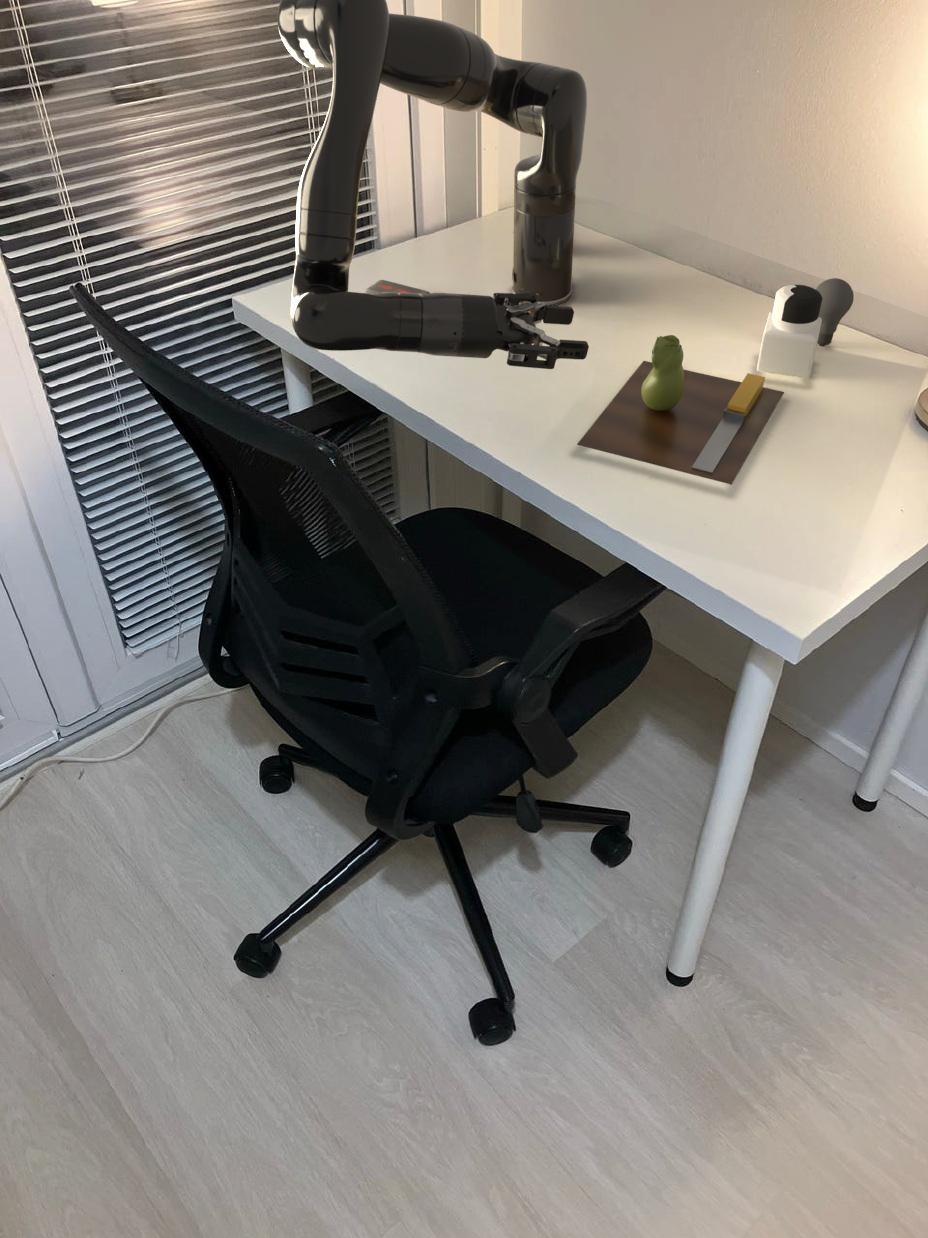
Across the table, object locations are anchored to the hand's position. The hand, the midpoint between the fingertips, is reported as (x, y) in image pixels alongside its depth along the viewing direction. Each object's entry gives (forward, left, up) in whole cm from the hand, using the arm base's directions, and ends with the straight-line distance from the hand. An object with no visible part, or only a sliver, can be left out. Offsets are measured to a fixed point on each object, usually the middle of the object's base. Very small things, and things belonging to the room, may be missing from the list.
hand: (579, 332), depth 133 cm
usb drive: (-18, -37, -12) cm, 43 cm away
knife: (-3, +20, -10) cm, 23 cm away
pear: (-4, +10, -10) cm, 15 cm away
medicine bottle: (-23, +22, -12) cm, 34 cm away
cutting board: (-3, +14, -12) cm, 18 cm away
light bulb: (-33, +25, -12) cm, 43 cm away
